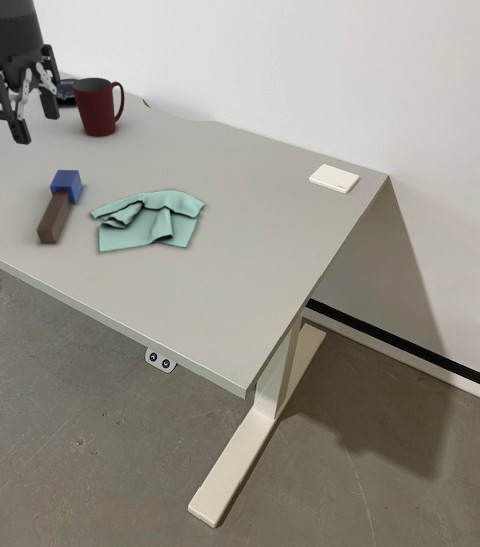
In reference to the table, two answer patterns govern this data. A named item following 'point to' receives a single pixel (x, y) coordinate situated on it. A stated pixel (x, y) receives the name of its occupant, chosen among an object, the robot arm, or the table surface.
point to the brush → (59, 204)
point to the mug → (97, 105)
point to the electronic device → (65, 93)
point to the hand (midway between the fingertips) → (39, 130)
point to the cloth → (148, 220)
